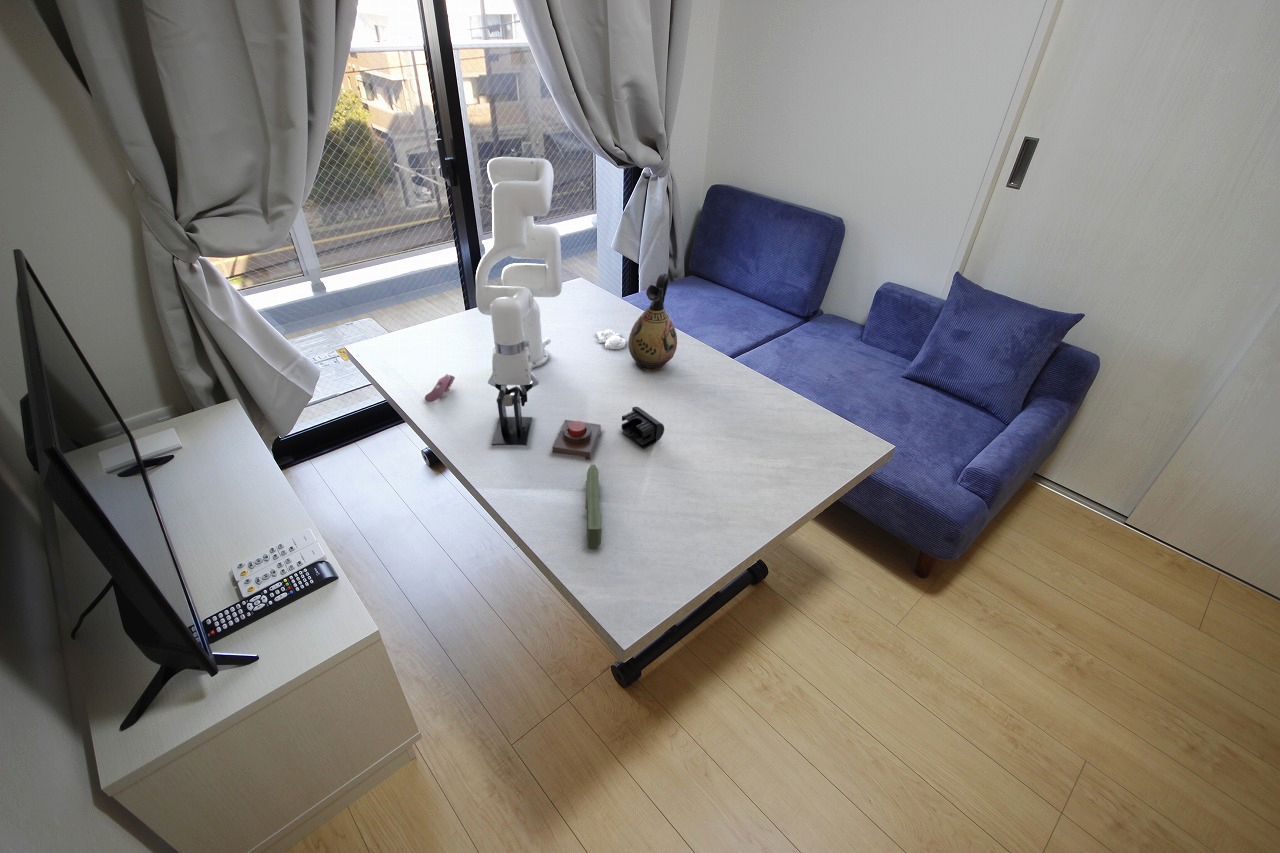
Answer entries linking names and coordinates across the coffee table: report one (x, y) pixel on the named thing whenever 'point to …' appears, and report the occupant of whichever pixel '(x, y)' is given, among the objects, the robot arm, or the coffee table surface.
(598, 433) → the button box
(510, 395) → the switch lever
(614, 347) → the white fluffy lump
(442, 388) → the video game controller
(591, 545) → the handheld radio
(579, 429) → the button
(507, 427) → the switch bracket
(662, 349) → the ceramic jug
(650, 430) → the end cap
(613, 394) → the coffee table surface
